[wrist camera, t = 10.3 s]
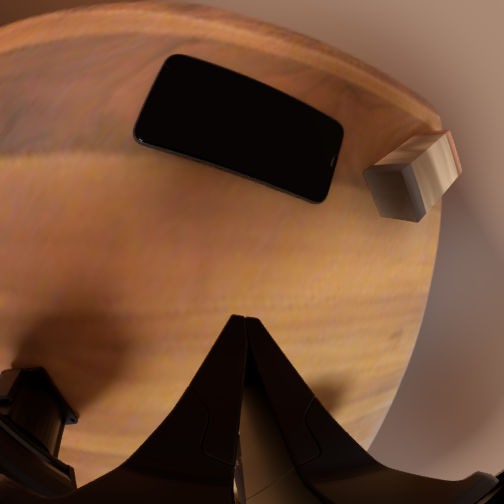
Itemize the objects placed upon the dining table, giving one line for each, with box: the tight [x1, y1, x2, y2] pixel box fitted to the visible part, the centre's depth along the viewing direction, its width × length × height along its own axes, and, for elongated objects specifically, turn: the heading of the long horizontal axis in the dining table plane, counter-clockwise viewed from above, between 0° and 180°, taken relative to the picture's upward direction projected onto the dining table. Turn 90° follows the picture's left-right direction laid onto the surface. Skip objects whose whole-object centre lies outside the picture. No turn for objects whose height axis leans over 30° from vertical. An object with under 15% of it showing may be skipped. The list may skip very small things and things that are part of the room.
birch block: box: [363, 130, 462, 222], centre depth 21 cm, size 5×4×10 cm
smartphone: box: [133, 54, 344, 204], centre depth 18 cm, size 7×1×15 cm
